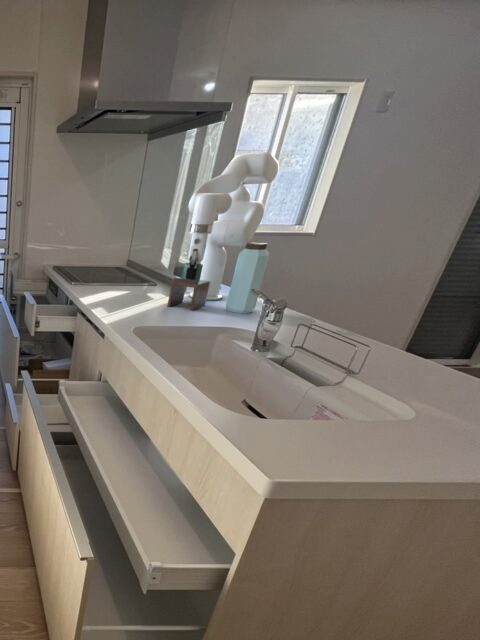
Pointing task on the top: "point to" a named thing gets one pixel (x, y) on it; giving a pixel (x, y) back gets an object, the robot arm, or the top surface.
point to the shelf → (179, 290)
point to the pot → (198, 271)
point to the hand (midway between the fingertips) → (191, 276)
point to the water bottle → (247, 277)
